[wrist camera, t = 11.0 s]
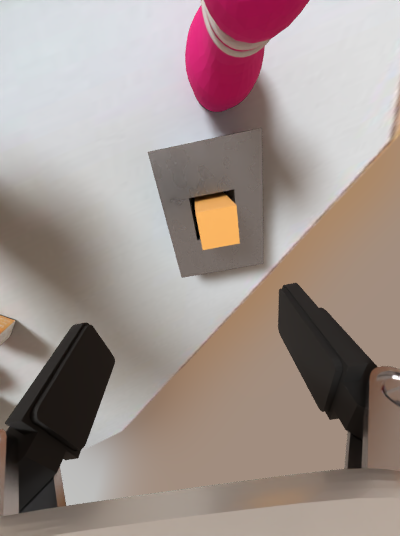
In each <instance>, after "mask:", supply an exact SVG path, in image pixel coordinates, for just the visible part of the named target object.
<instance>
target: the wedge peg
mask: <svg viewBox="0 0 400 536" xmlns="http://www.w3.org/2000/svg"><path fill="white" fill-rule="evenodd" d="M194 199H195V212H196V218H197V223H198V228H199V234H200V239H201V244H202V249H203V250H207V249H212V248H218V247H223V246H228V245H234V244H239V243H240V240H239V228H238V216H237V205H236V204H235V203H234V202H233V201H232V200H231V199H230V198H229V197H228V196H227V195H226V194H225V193H224V192H218V193H213V194H207V195H202V196H197V197H194Z"/></svg>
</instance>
